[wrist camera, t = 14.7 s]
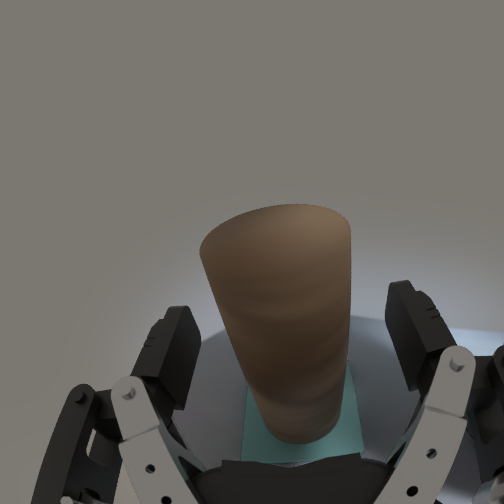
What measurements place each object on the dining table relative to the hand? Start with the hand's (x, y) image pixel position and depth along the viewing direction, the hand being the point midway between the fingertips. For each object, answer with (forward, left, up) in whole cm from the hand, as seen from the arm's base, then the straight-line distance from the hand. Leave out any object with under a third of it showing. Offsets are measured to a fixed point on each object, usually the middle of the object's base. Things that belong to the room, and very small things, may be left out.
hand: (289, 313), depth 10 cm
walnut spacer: (0, 0, -8) cm, 9 cm away
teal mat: (0, 0, -9) cm, 9 cm away
